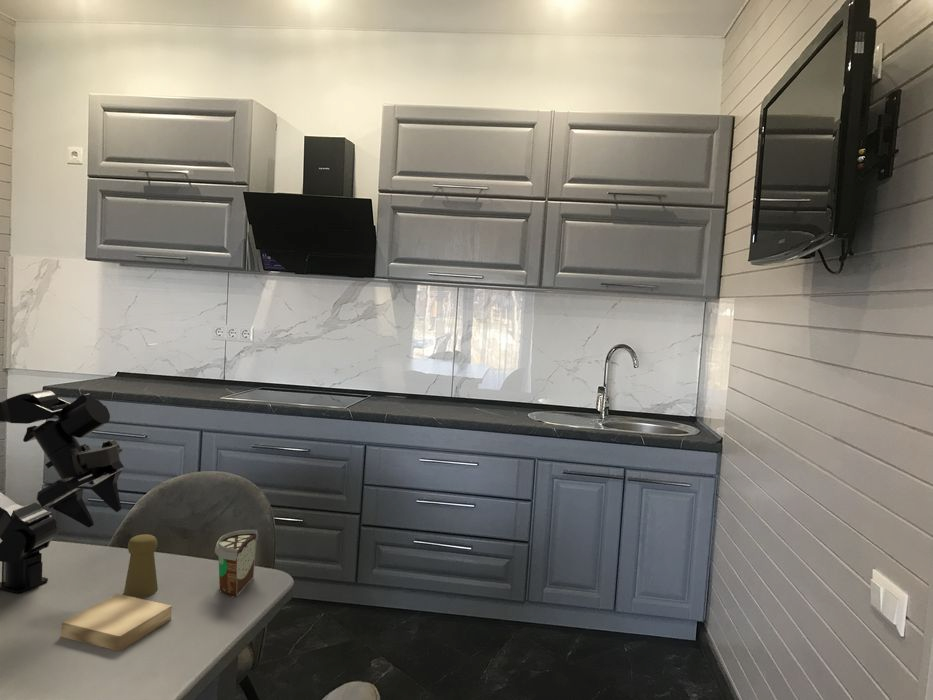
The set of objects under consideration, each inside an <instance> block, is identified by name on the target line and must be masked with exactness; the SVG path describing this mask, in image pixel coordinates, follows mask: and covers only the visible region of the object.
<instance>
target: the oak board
mask: <svg viewBox="0 0 933 700" xmlns="http://www.w3.org/2000/svg"><path fill="white" fill-rule="evenodd" d="M172 607H173V605H171V604H167V603H161V602H156V601H152V600H148V599H142V598H135V597H130V596H126V595H124V594H120V593H116V594H115V595H112V596H110V597H109V598H106V599H104V600H103V601H100V602H98V603H97V604H95V605H93V606H91V607H89V608H87V609H85V610H82V611H81V612H79V613H77V614H75V615H73V616H71V617H69V618H67V619H65V620H64V621H62V622H61V633H60V634H61V635H60V637H61V638H65V639H69V640H73V641H78V642H82V643H85V644H89V645H93V644H94V645H93V646H98V647H101V648H106V649H109V650H113V651H117V652H121V651H122V650H123V649H125V648H127V647H129V646H131V645H132V644H134V643H135V642H137V641H138V640H140V639H142V637H145V636H146V635H148V634H149V633H151V632H153V631H155V630H156V629H158V628H159V627H161V626H162V625H164V624H165V623H167V622H169V621H170V620H172V609H173V608H172ZM144 635H145V636H144ZM139 638H140V639H139ZM136 640H137V641H136ZM131 643H132V644H131ZM128 645H129V646H128ZM126 646H127V647H126Z"/></svg>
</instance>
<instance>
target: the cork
mask: <svg viewBox="0 0 933 700" xmlns="http://www.w3.org/2000/svg"><path fill="white" fill-rule="evenodd" d="M157 548H158V540H157V538H156V536H154V535H152V534H146V533H145V534H138V535H134V536H133V537H131V538H130V539H129V541H128V544H127V549H128V554H130V555H129V556H130V557H129V561H128V566H127V567H128V568H127V573H126V578H125V584H124V589H123V595H126V596H130V597H135V598H138V597H139V599H142V598H146V597H149V596H152V595H155V592H158V590H159V588H158V587H159V585H158V577H157V570H156V561H155V560H156V558H155V552H156V550H157Z"/></svg>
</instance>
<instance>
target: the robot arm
mask: <svg viewBox="0 0 933 700" xmlns="http://www.w3.org/2000/svg"><path fill="white" fill-rule="evenodd" d="M54 418H58V419H57V420H50V419H54ZM110 419H111V413H110V411H109V409H108V408H107V405H104V404H103V403H102V402H101V401H100V400H98V399H96V398H94V397H93V396H92V394H91V393H84V394H82V395H80V396H79V397H77V398H76V399H75V400H74V401H72V402H69V401H67V400H64V399H62V398H59V397H58V396H57V394H56V393H54V392H53V391H52V390H50V389H43V390H37V391H31V392H26V393H21V394H18V395H15V396H12V397H9V398H6V399H5V400H2V401H0V422H1V423H9V424H20V425H21V424H23V425H24V424H25V425H26V424H27V425H28V424H32V423H36V422H37V423H38V422H42V421H45V420H46V421H45V422H43V423H41V424H39V425H38V426H37V425H32V426H28V427H26V432H25V434H24V437H23V438H22V441H23V442H25V443H27V442H30V441H33V440H36V442H37V443H38V444H39V447H40V448H41V450H42V451H43V453H44V454H45V456H46V457H47V459H48V462H46V463H45V467H46V468H47V469H48V470H49V469H50V468H53V469H54V471H56V473H57V476H58V477H59V478H60V479H57V480H56V481H54V482H53V483H51V484H49V485H48V486H46V487H45V488H42V489H40V490H39V491H37V493H36V501H37V502H36V501H35V502H34V501H33V502H31V503H28V504H26V505H21V504H18V503H16V502H15V501H14V500H12V499H10V497H8V496H6V495H5V494H3V493H2V492H1V491H0V540H1V542H0V562H1V581H0V590H3V591H6V592H9V593H10V592H11V593H15V594H20V593H23V592H26V591H27V590H28V591H29V590H31V589H33V588H36V587H37V586H39V585H43V584H44V583H47V582H48V581H49V578H48V577H44V576H43V560H42V553H41V551H42V550H43V549H47V548H49V546H50V543H51V541H52V540H53V539H54V538H55V536H56V534H57V531H58V527H57V521H56V519H55V518H54V517H53V516H52V514H53V512H52V511H48V510H46V509H44V507H46V506H48V505H49V506H48V507H47V509H49V510H52V509H53V510H55V511H57V512H58V513H61V514H63V515H65V516H67V517H69V518H71V519H73V520H74V521H76V522H78V523H80V524H81V525H83V526H85V527H86V528H92V527H93V526H94V525H95V522H94V520H93V518H92V515H91V513H90V511H89V510H88V508H87V505H86V503H85V502H84V500H83V495H84V487H81V486H84V485H86V484H88V485H91V487H90V490H91V491H92V492H93V493H94V494H96V495H97V496H98V498H100V499H101V500H102V501H103V502H104V503H105V504H107V506H108V507H110V508H111V509H112V510H113V511H114V512H116V513H118V512H119V511H121V510H122V503H121V499H120V495H119V489H118V480H119V478H120V475H121V474H122V472H123V471H122V469H123V468H125V466H124V465H123V463H122V461H121V458H120V454H121V453H122V452H123V448H122V447H121V446H120V444H119V443H118V442H117V441H116V439H111V440H106V441H103V443H102V445H101V447H98V448H94V449H93V448H90V446H89V445H88V444H87V443H84V444H82V445H81V444H80V442H79V440H78V439H79V438H80V439H81V438H82V439H83V438H84V437H86V436H88V435H89V434H91V433H92V432H94V431H96V430H97V429H99V428H101V427H103V426H104V425H107V423H108V422H109V421H110ZM77 438H78V439H77ZM80 487H81V488H80ZM78 488H79V489H78Z"/></svg>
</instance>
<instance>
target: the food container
mask: <svg viewBox="0 0 933 700" xmlns="http://www.w3.org/2000/svg"><path fill="white" fill-rule="evenodd" d="M258 534H259V533H258V530H257V529H244V530H243V529H242V530H235V531H231V532H228V533H226V534H224V535H221V537H219V539H218V540H217V542H216V545H215V548H214V554H216V556H217V557H218V575H219V577H218V580H219V581H218V582H219V592H220V593H222V594H223V595H225V594H226V595H225V596H227V597H232V596H234V598H237V597H238V596H239V595H240V594H241V593H240V592H241V591H242V592H243V591H244V589H245V588H246V587H247V586H248V585H249V584H250V582H251V581H252V580H253V579H254V578H255V577H254V575H255V566H256V565H255V563H256V551H257V540H258V539H259V537H258V536H259V535H258ZM253 577H254V578H253ZM252 578H253V579H252ZM251 579H252V580H251ZM250 580H251V581H250ZM248 583H249V584H248ZM247 584H248V585H247ZM246 585H247V586H246ZM245 586H246V587H245ZM239 593H240V594H239ZM238 594H239V595H238Z"/></svg>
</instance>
